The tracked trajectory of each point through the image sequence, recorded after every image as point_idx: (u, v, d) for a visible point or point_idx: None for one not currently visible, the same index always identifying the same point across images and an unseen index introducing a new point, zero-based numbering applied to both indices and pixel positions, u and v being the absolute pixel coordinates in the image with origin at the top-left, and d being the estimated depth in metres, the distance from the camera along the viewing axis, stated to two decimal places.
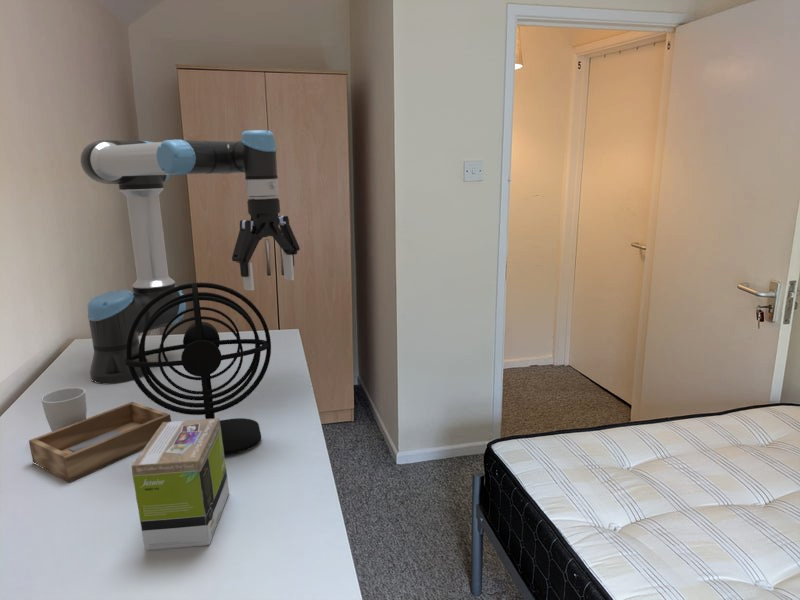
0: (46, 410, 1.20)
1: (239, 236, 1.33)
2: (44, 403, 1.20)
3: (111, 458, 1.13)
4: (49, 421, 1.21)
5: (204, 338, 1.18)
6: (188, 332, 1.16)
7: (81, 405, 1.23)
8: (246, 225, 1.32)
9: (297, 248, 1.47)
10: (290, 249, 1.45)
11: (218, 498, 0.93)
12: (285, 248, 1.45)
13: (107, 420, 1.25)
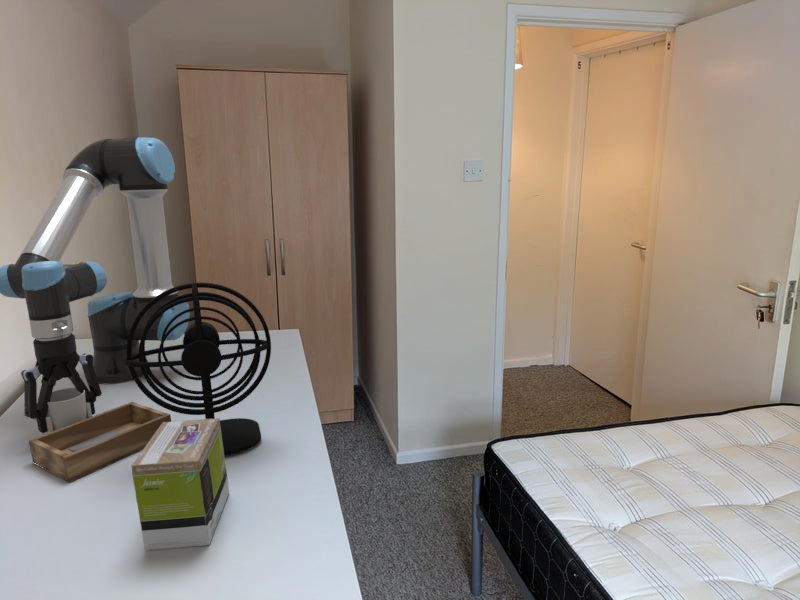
0: None
1: (25, 389, 1.17)
2: None
3: (111, 458, 1.13)
4: None
5: (204, 338, 1.18)
6: (188, 332, 1.16)
7: (81, 405, 1.23)
8: (27, 378, 1.16)
9: (98, 393, 1.28)
10: (87, 395, 1.26)
11: (218, 498, 0.93)
12: None
13: (107, 420, 1.25)
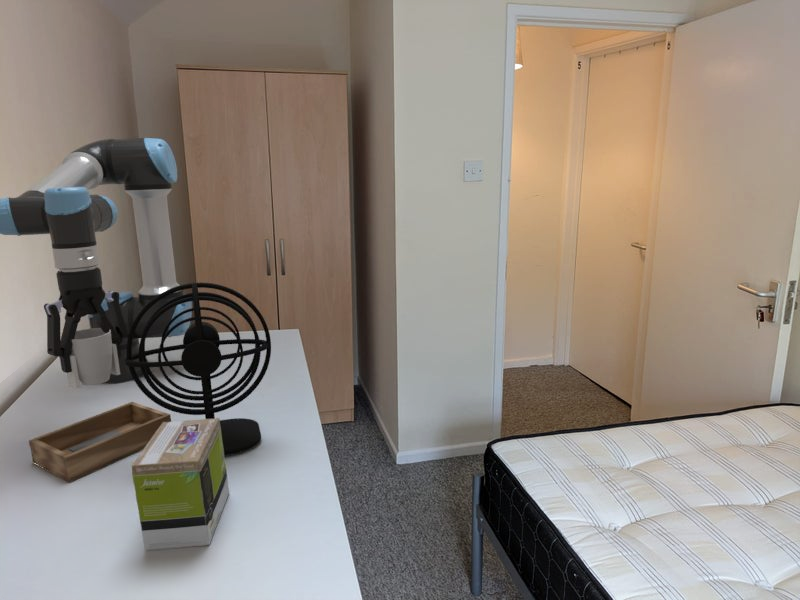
0: None
1: (48, 324, 1.08)
2: None
3: (111, 458, 1.13)
4: None
5: (204, 338, 1.18)
6: (188, 332, 1.16)
7: (107, 345, 1.14)
8: (51, 311, 1.07)
9: (124, 334, 1.19)
10: (113, 336, 1.17)
11: (218, 498, 0.93)
12: None
13: (107, 420, 1.25)
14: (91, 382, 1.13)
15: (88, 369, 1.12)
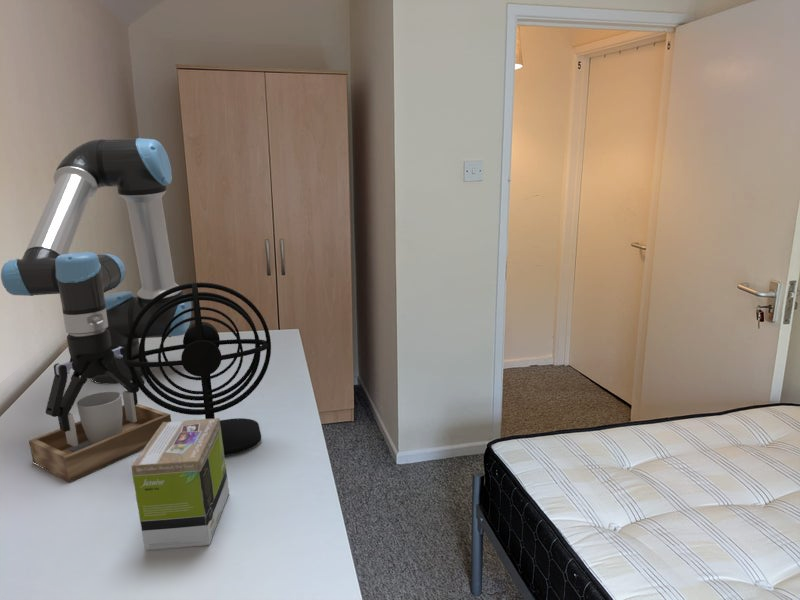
0: (82, 415, 1.14)
1: (53, 384, 1.10)
2: (80, 408, 1.14)
3: (111, 458, 1.13)
4: (85, 427, 1.15)
5: (204, 338, 1.18)
6: (188, 332, 1.16)
7: (117, 410, 1.17)
8: (60, 372, 1.09)
9: None
10: (130, 386, 1.21)
11: (218, 498, 0.93)
12: (124, 385, 1.21)
13: None
14: None
15: (99, 434, 1.16)
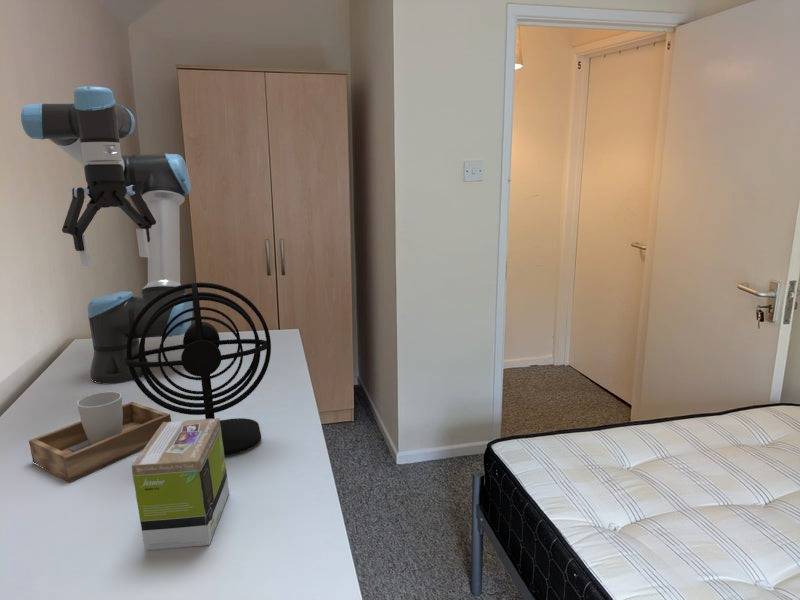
0: (82, 415, 1.14)
1: (71, 205, 1.19)
2: (80, 408, 1.14)
3: (111, 458, 1.13)
4: (85, 427, 1.15)
5: (204, 338, 1.18)
6: (188, 332, 1.16)
7: (118, 410, 1.17)
8: (78, 193, 1.19)
9: (153, 222, 1.33)
10: (143, 222, 1.31)
11: (218, 498, 0.93)
12: (137, 221, 1.31)
13: None
14: None
15: (99, 435, 1.16)
